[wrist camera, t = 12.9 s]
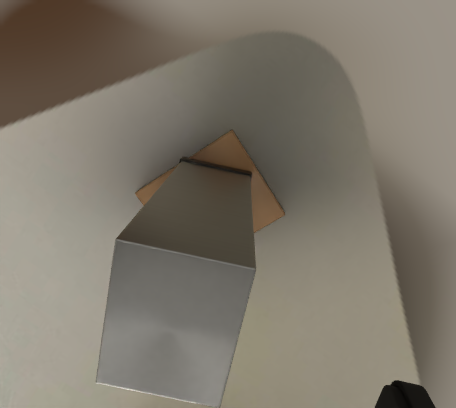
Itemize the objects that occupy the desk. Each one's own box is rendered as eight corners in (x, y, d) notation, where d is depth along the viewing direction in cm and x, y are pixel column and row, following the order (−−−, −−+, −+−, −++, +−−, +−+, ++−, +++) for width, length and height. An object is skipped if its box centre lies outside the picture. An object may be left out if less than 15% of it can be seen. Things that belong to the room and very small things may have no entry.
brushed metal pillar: (182, 156, 23) (111, 234, 11) (252, 171, 23) (260, 266, 11) (167, 237, 24) (91, 385, 12) (233, 251, 24) (222, 412, 12)
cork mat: (232, 129, 23) (232, 130, 22) (284, 212, 24) (285, 215, 23) (137, 190, 24) (134, 193, 23) (191, 265, 25) (190, 270, 25)
